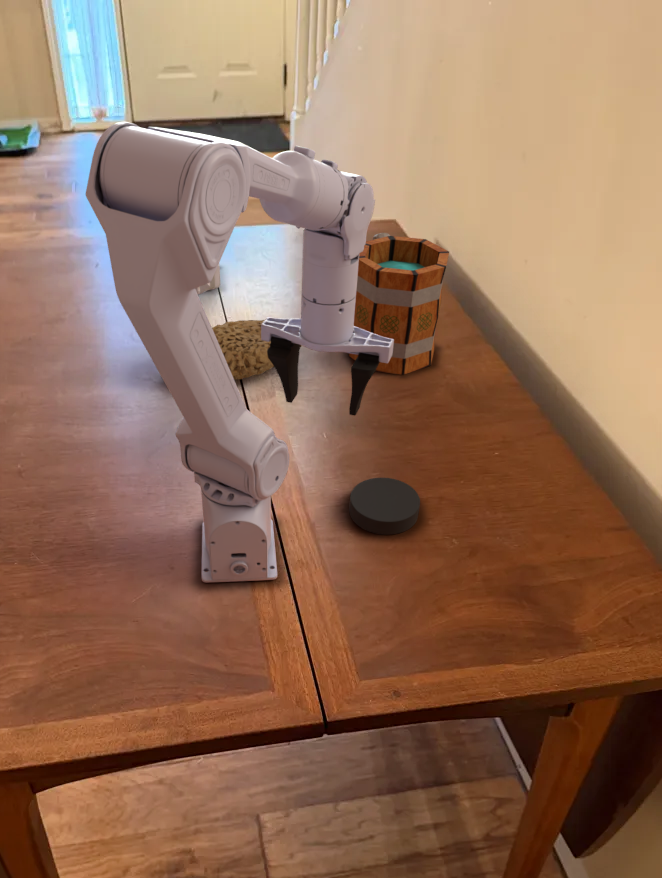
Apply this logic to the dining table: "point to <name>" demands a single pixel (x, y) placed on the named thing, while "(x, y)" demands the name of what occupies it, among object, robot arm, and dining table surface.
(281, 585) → the dining table surface
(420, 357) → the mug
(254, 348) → the sponge
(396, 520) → the puck
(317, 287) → the robot arm
